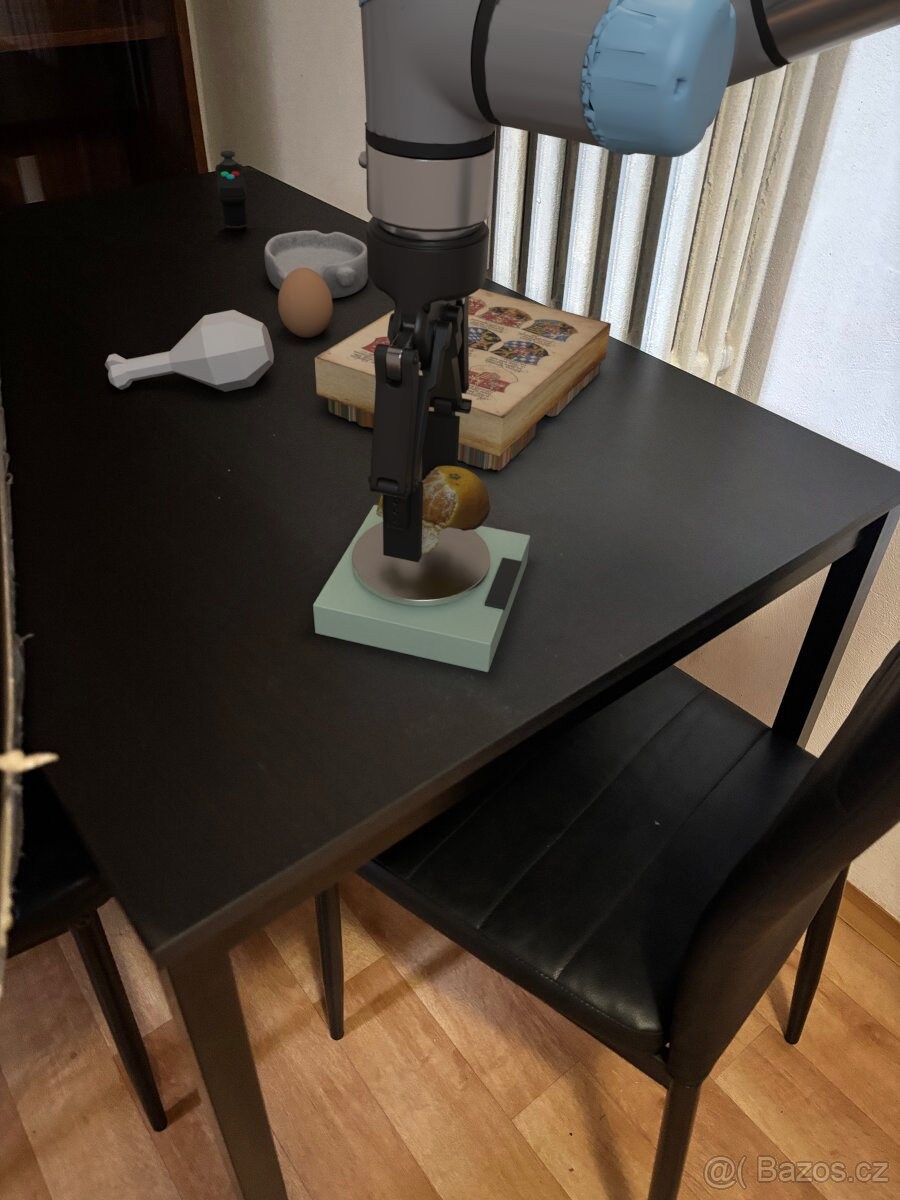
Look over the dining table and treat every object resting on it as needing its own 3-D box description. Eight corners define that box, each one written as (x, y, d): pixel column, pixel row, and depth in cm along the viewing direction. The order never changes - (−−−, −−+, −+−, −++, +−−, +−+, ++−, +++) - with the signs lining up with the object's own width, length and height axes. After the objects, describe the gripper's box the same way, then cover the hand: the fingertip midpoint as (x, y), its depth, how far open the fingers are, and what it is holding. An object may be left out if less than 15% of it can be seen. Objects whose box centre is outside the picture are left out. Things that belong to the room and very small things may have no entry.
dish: (366, 305, 118) (365, 267, 115) (259, 301, 118) (255, 263, 114) (373, 263, 129) (372, 227, 126) (275, 260, 129) (272, 223, 125)
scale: (528, 562, 79) (531, 532, 77) (489, 673, 68) (492, 642, 66) (374, 531, 81) (373, 502, 79) (314, 633, 71) (312, 602, 69)
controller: (249, 215, 142) (241, 146, 136) (253, 244, 133) (245, 171, 126) (220, 216, 141) (212, 147, 135) (223, 245, 132) (214, 172, 126)
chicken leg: (124, 369, 104) (89, 319, 97) (277, 339, 103) (254, 287, 96) (123, 428, 101) (87, 381, 93) (281, 398, 100) (258, 348, 92)
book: (431, 318, 116) (296, 405, 98) (432, 268, 112) (292, 350, 94) (608, 369, 108) (497, 476, 89) (617, 317, 103) (503, 418, 85)
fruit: (368, 500, 72) (367, 461, 70) (463, 480, 75) (465, 441, 72) (408, 561, 66) (408, 520, 64) (509, 536, 69) (513, 496, 67)
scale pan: (503, 534, 76) (504, 529, 75) (470, 619, 68) (470, 613, 67) (379, 510, 78) (378, 504, 77) (331, 589, 70) (331, 583, 69)
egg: (345, 333, 112) (342, 267, 106) (310, 352, 107) (306, 284, 102) (304, 320, 114) (299, 254, 109) (269, 337, 110) (262, 270, 105)
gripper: (421, 162, 64) (417, 441, 79) (300, 273, 48) (323, 596, 63) (526, 175, 62) (501, 457, 77) (437, 294, 47) (427, 619, 61)
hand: (421, 519), depth 70 cm, fingers closed on fruit, 9 cm apart
